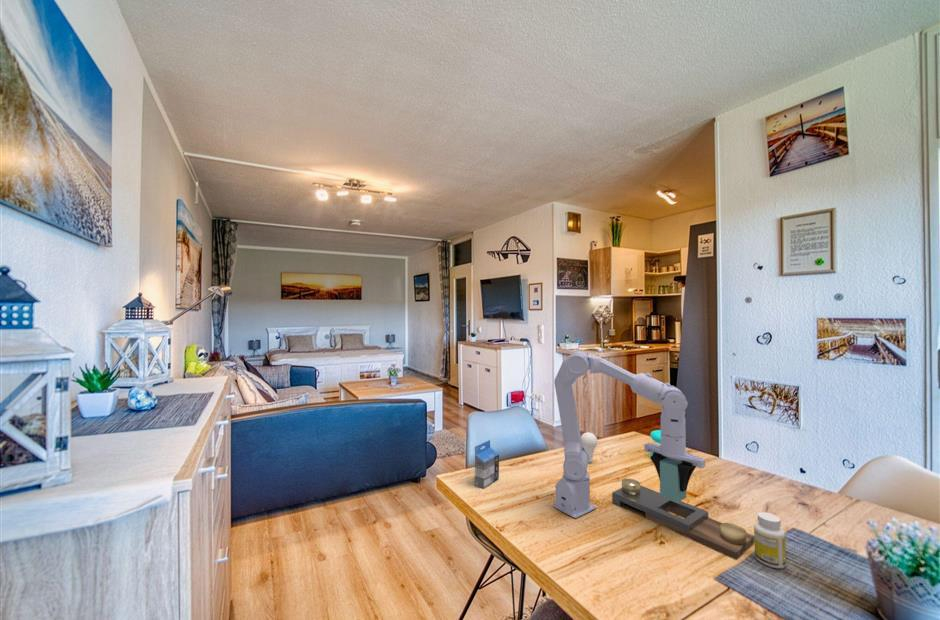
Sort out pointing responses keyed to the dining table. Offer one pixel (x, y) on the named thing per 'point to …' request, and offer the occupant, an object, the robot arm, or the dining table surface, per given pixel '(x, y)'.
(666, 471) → the block
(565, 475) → the robot arm
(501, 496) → the dining table surface
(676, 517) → the metal link
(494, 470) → the label tape cartridge
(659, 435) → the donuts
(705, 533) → the walnut link
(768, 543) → the supplement bottle
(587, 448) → the lightbulb
